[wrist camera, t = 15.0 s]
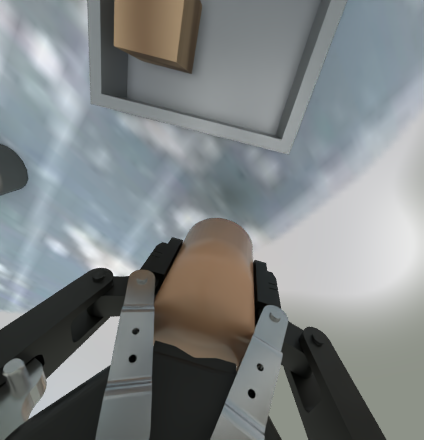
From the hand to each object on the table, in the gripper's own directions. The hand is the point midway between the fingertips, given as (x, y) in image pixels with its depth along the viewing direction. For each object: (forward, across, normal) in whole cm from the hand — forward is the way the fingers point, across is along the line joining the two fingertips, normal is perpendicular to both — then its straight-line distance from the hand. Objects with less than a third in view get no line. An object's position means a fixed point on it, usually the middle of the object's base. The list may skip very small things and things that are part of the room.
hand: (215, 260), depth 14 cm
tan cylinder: (+1, 0, 0) cm, 1 cm away
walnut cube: (+13, +9, -14) cm, 21 cm away
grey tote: (+13, +5, -14) cm, 20 cm away
